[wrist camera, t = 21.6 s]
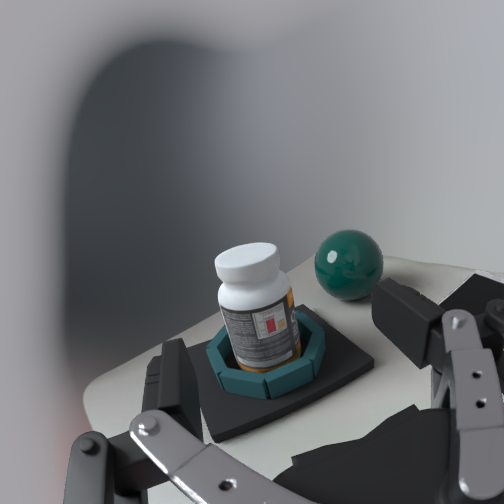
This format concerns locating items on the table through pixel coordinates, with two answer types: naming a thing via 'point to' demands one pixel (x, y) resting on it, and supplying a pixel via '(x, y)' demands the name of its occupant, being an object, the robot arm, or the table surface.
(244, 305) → the pill bottle
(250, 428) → the dock
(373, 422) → the table surface
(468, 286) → the smartphone
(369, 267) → the sphere
